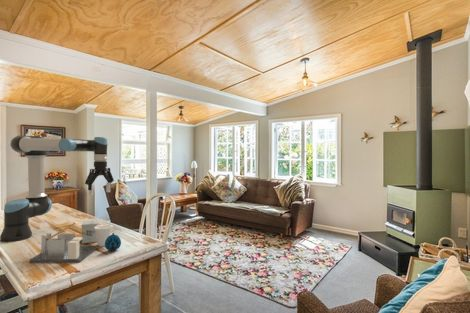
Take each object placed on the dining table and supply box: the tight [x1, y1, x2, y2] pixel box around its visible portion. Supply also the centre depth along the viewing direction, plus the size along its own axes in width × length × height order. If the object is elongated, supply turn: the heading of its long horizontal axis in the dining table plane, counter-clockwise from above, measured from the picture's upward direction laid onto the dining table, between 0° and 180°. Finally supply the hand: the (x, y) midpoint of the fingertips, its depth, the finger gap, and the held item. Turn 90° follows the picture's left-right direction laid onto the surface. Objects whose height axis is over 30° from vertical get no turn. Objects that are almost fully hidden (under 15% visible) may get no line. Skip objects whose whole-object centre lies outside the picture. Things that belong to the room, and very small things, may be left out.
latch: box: [68, 236, 83, 259], centre depth 131 cm, size 4×6×9 cm, turn 4°
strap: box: [47, 221, 79, 240], centre depth 136 cm, size 18×2×1 cm, turn 93°
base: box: [29, 232, 98, 263], centre depth 136 cm, size 24×18×11 cm
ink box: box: [81, 219, 99, 245], centre depth 158 cm, size 9×9×12 cm
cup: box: [94, 223, 113, 247], centre depth 152 cm, size 10×10×11 cm
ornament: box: [104, 232, 122, 252], centre depth 144 cm, size 8×5×10 cm, turn 114°
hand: (99, 193), depth 165 cm, fingers open, 13 cm apart
